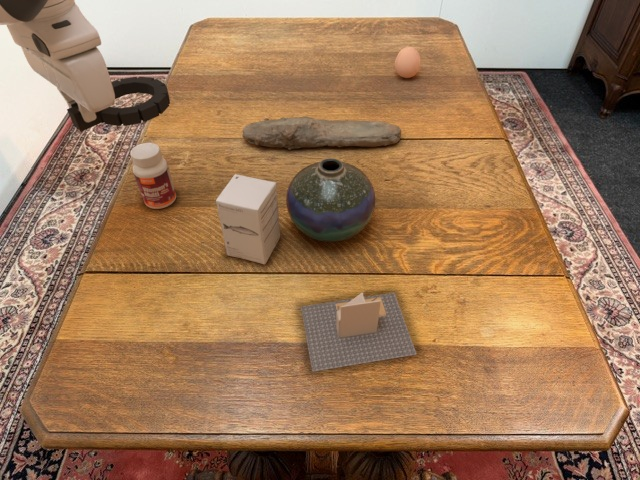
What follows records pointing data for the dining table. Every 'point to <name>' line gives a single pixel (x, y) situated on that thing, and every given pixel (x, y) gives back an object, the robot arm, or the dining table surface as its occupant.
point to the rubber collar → (128, 114)
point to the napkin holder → (356, 331)
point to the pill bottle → (152, 176)
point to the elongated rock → (320, 133)
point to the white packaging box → (249, 218)
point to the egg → (407, 62)
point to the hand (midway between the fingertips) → (84, 115)
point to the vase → (330, 200)
